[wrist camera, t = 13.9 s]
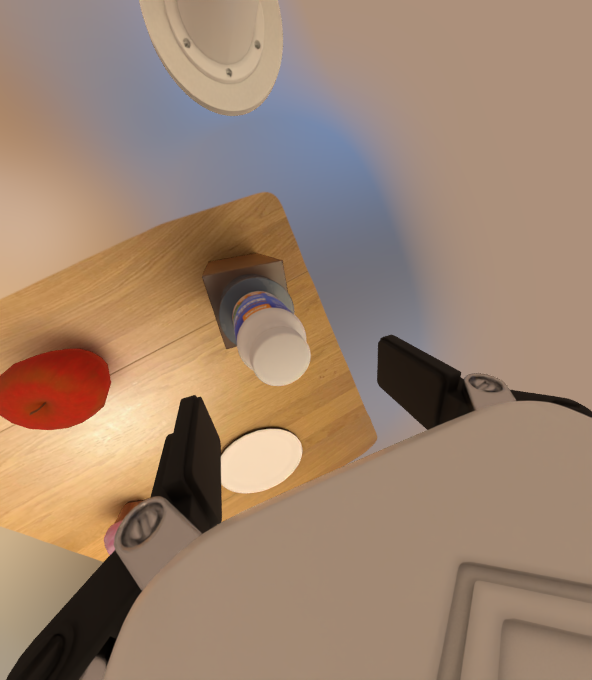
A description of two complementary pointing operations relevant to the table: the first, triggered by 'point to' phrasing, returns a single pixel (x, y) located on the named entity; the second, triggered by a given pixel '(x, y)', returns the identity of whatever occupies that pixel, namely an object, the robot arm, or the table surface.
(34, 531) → the table surface
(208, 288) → the stand
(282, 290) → the tin
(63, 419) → the apple
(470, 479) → the robot arm
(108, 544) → the cupcake
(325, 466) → the table surface
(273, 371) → the pill bottle
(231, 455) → the plate
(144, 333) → the table surface
